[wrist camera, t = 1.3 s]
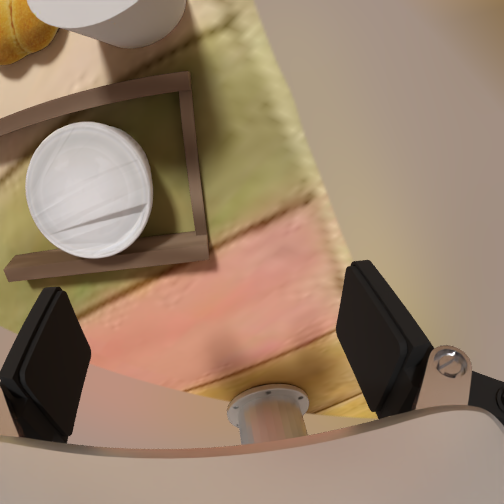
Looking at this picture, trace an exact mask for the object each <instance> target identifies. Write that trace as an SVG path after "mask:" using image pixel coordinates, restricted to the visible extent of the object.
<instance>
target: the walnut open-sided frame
mask: <svg viewBox="0 0 504 504" xmlns="http://www.w3.org/2000/svg"><path fill="white" fill-rule="evenodd" d="M177 91H179V100H180V111H181V120H182V130H183V139H184V148H185V156H186V165H187V173H188V181H189V188H190V196H191V203H192V210H193V218H194V225H195V231H192V232H183V233H175V234H167V235H159V236H151V237H143V238H137V239H136V240H135V242H134V243H133V244H131V245H130V246H129V247H128V248H127V249H125V250H123V251H122V252H120V253H117V254H115V255H113V256H109V257H105V258H96V259H91V258H82V257H78V256H74V255H72V254H69V253H67V252H65V251H63V250H61V249H55V250H48V251H41V252H34V253H28V254H21V255H15V256H14V258H13V259H12V260H11V261H10V262H9V264H8V265H7V266H6V267H5V269H4V272H5V275H6V277H7V279H8V282H13V281H22V280H31V279H40V278H50V277H59V276H68V275H77V274H86V273H95V272H104V271H113V270H122V269H131V268H140V267H149V266H158V265H167V264H176V263H185V262H194V261H203V260H209V242H208V234H207V227H206V219H205V211H204V203H203V194H202V186H201V177H200V168H199V159H198V150H197V140H196V130H195V120H194V110H193V99H192V87H191V75H190V72H189V71H183V72H176V73H169V74H162V75H156V76H150V77H144V78H139V79H134V80H129V81H124V82H119V83H115V84H110V85H106V86H102V87H97V88H93V89H89V90H86V91H82V92H78V93H75V94H71V95H68V96H64V97H61V98H58V99H54V100H51V101H48V102H45V103H42V104H39V105H36V106H33V107H30V108H27V109H25V110H22V111H19V112H16V113H14V114H11V115H9V116H6V117H4V118H1V119H0V136H1V135H4V134H7V133H10V132H12V131H15V130H18V129H21V128H24V127H27V126H30V125H33V124H36V123H39V122H42V121H45V120H48V119H52V118H55V117H58V116H62V115H65V114H69V113H73V112H77V111H80V110H84V109H88V108H92V107H97V106H101V105H105V104H110V103H114V102H119V101H124V100H129V99H134V98H140V97H145V96H151V95H157V94H163V93H170V92H177Z"/></svg>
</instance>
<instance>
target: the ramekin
mask: <svg viewBox="0 0 504 504" xmlns="http://www.w3.org/2000/svg"><path fill="white" fill-rule="evenodd" d="M151 178H152V175H151V168H150V165H149V162H148V159H147V157H146V154H145V152H144V151H143V149H142V147H141V146H140V145H139V144H138V142H137V141H136V140H134V139H133V138H132V137H131V136H130V135H128V134H127V133H126V132H124V131H122V130H121V129H118V128H115V127H113V126H108V125H105V124H101V123H96V122H78V123H73V124H70V125H67V126H64V127H62V128H60V129H58V130H56V131H54V132H53V133H52V134H50V135H49V136H48V137H47V138H45V139H44V140H43V142H42V143H41V144H40V145H39V147H38V148H37V149H36V151H35V152H34V154H33V156H32V159H31V161H30V164H29V167H28V170H27V175H26V198H27V203H28V207H29V210H30V213H31V215H32V217H33V219H34V221H35V223H36V225H37V227H38V228H39V230H40V231H41V233H42V234H43V235H44V236H45V237H46V238H47V239H48V240H49V241H50V242H51V243H52V244H54V245H55V246H56V247H58V248H60V249H61V250H63V251H65V252H67V253H69V254H72V255H74V256H78V257H82V258H91V259H96V258H105V257H109V256H113V255H115V254H117V253H120V252H122V251H123V250H125V249H127V248H128V247H129V246H130V245H131V244H133V243H134V242H135V240H136V239H137V238H138V237H139V236H140V234H141V233H142V231H143V230H144V228H145V226H146V224H147V221H148V219H149V216H150V213H151V209H152V203H153V184H152V179H151Z"/></svg>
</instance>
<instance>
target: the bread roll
mask: <svg viewBox="0 0 504 504" xmlns="http://www.w3.org/2000/svg"><path fill="white" fill-rule="evenodd" d="M58 28H59V27H55V26H52V25H49V24H47V23H45V22H43V21H41V20H40V19H39V18H37V17H36V16H35V15H34V13H33V12H32V11H31V9H30V7H29V5H28V3H27V0H0V65H8V64H12V63H14V62H17V61H18V60H20V59H22V58H23V57H25V56H26V55H28V54H30V53H33V52H37V51H40V50H41V49H43V48H45V47H46V46H47V45H49V44H50V42H51V41H52V40H53V38H54V36H55V34H56V32H57V30H58Z"/></svg>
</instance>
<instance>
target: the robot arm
mask: <svg viewBox="0 0 504 504" xmlns="http://www.w3.org/2000/svg"><path fill="white" fill-rule="evenodd" d="M336 333H337V337H338V339H339V341H340V343H341V345H342V348H343V350H344V352H345V354H346V356H347V359H348V361H349V363H350V365H351V368H352V370H353V372H354V374H355V377H356V379H357V381H358V383H359V386H360V388H361V390H362V392H363V395H364V397H365V399H366V402H367V404H368V406H369V408H370V410H371V411H372V412H376V414H377V416H378V419H379V420H375V421H371V422H367V423H363V424H359V425H355V426H351V427H346V428H341V429H337V430H332V431H328V432H323V433H318V434H313V435H308V434H307V430H306V427H305V423H304V420H303V415H304V414H305V413H306V411H307V410H308V407H309V400H308V396H307V394H306V393H305V392H304V391H303V390H302V389H300V388H298V387H296V386H292V385H287V384H269V385H263V386H258V387H255V388H252V389H249V390H247V391H245V392H242V393H241V394H239V395H238V396H236V397H235V398H234V399H233V400H232V401H231V402H230V403H229V405H228V408H227V416H228V420H229V421H230V423H231V424H233V425H234V426H236V427H238V428H239V430H240V437H241V444H242V445H236V446H225V447H213V448H195V449H194V448H193V449H124V448H107V447H94V446H84V445H74V444H67V439H68V436H70V435H71V434H72V432H73V427H74V422H75V418H76V413H77V409H78V405H79V401H80V396H81V392H82V388H83V384H84V381H85V377H86V373H87V369H88V365H89V362H90V359H91V349H90V346H89V344H88V342H87V340H86V338H85V335H84V333H83V331H82V329H81V326H80V324H79V322H78V320H77V317H76V315H75V313H74V310H73V308H72V305H71V303H70V300H69V298H68V295H67V293H66V292H65V291H62V289H61V288H60V287H47V288H44V289H43V290H42V292H41V293H40V295H39V297H38V299H37V300H36V302H35V304H34V306H33V308H32V309H31V311H30V313H29V315H28V317H27V318H26V320H25V322H24V324H23V326H22V328H21V330H20V332H19V334H18V336H17V338H16V340H15V342H14V344H13V346H12V348H11V350H10V352H9V354H8V356H7V358H6V360H5V362H4V365H3V367H2V369H1V371H0V380H1V382H0V504H504V382H502V381H499V380H496V379H493V378H490V377H488V376H485V375H482V374H479V373H477V372H474V371H472V364H471V361H470V359H469V357H468V356H467V355H466V354H465V353H464V352H463V351H462V350H460V349H458V348H456V347H453V346H448V345H443V346H439V347H436V348H435V349H434V347H433V346H432V345H431V343H430V341H429V340H428V338H427V337H426V335H425V334H424V333H423V331H422V330H421V328H420V327H419V325H418V324H417V323H416V321H415V320H414V319H413V317H412V316H411V314H410V313H409V311H408V310H407V309H406V307H405V306H404V305H403V303H402V302H401V301H400V299H399V298H398V297H397V295H396V294H395V293H394V291H393V290H392V288H391V287H390V286H389V285H388V283H387V282H386V281H385V279H384V278H383V277H382V275H381V274H380V273H379V271H378V270H377V269H376V268H375V266H374V265H373V264H372V262H371V261H369V260H363V261H354V262H352V263H351V266H348V267H347V268H346V273H345V279H344V285H343V291H342V297H341V303H340V308H339V314H338V319H337V325H336ZM388 416H389V417H388ZM385 417H386V418H385ZM381 418H382V419H381ZM52 441H53V442H52Z"/></svg>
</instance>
